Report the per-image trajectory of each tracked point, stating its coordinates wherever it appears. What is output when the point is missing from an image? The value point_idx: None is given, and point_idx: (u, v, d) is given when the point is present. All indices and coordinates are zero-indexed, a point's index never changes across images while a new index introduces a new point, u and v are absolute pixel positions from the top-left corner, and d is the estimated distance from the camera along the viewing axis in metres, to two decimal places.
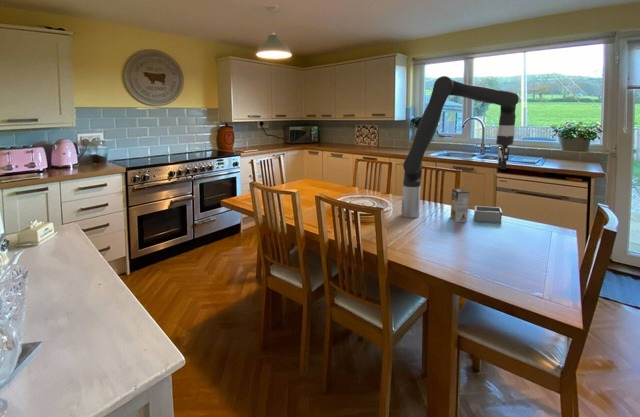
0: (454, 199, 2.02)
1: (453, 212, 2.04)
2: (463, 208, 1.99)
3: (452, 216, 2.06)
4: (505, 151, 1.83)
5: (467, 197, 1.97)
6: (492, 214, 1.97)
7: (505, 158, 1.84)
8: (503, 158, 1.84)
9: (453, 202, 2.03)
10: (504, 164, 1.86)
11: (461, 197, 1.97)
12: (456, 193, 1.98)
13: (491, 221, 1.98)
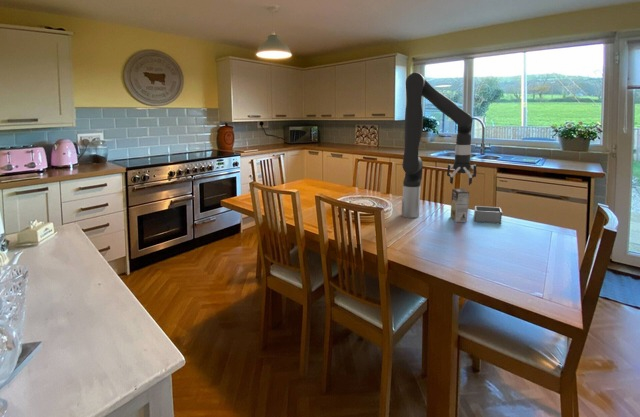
0: (454, 199, 2.02)
1: (453, 212, 2.04)
2: (463, 208, 1.99)
3: (452, 216, 2.06)
4: None
5: (467, 197, 1.97)
6: (492, 214, 1.97)
7: (475, 174, 1.97)
8: None
9: (453, 202, 2.03)
10: (471, 180, 1.98)
11: (461, 197, 1.97)
12: (456, 193, 1.98)
13: (491, 221, 1.98)
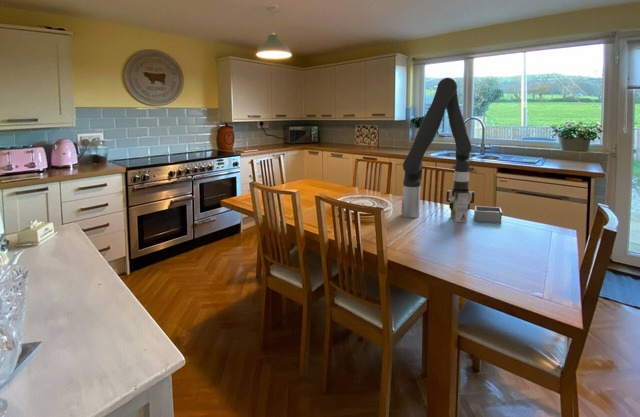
0: (454, 199, 2.02)
1: (453, 212, 2.04)
2: (463, 208, 1.99)
3: (452, 216, 2.06)
4: None
5: (467, 197, 1.97)
6: (492, 214, 1.97)
7: None
8: (473, 201, 1.99)
9: (453, 202, 2.03)
10: (469, 206, 2.02)
11: (461, 197, 1.97)
12: (456, 193, 1.98)
13: (491, 221, 1.98)
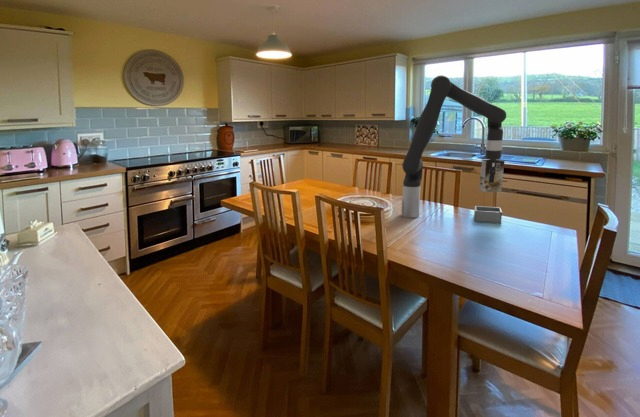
0: None
1: (494, 184, 1.95)
2: None
3: (490, 189, 1.96)
4: None
5: None
6: (492, 214, 1.97)
7: None
8: None
9: None
10: None
11: None
12: (501, 162, 1.92)
13: (491, 221, 1.98)
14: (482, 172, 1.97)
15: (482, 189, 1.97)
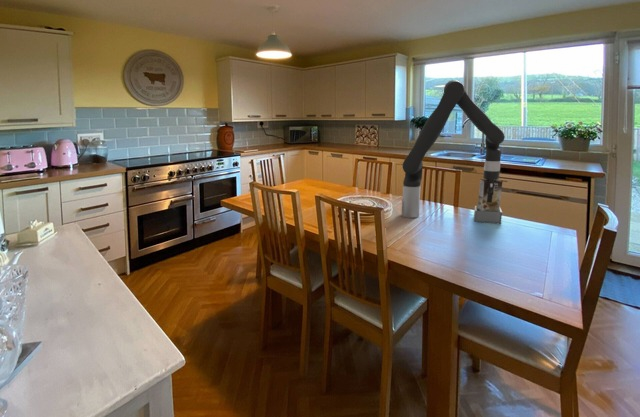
0: None
1: (492, 204, 1.97)
2: None
3: (488, 209, 1.98)
4: None
5: None
6: (492, 214, 1.97)
7: None
8: None
9: None
10: None
11: None
12: (499, 183, 1.94)
13: (491, 221, 1.98)
14: (480, 192, 2.00)
15: (480, 208, 2.00)
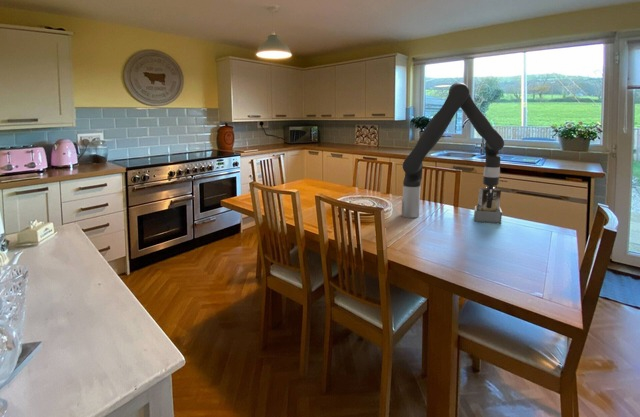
0: None
1: None
2: None
3: None
4: None
5: None
6: (492, 214, 1.97)
7: None
8: None
9: None
10: None
11: None
12: (497, 192, 1.96)
13: (491, 221, 1.98)
14: (479, 200, 2.02)
15: None
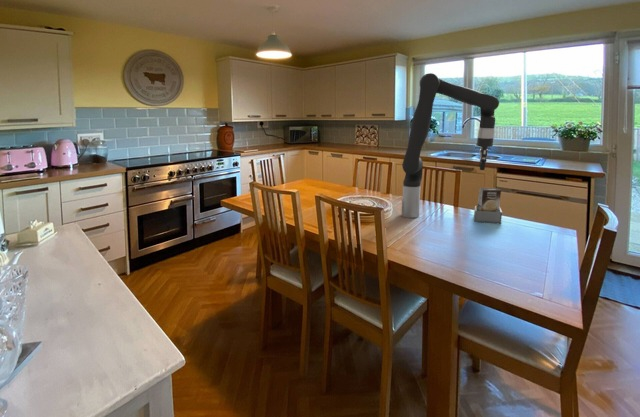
0: (491, 200, 1.97)
1: None
2: None
3: None
4: None
5: None
6: (492, 214, 1.97)
7: None
8: None
9: (489, 203, 1.98)
10: None
11: None
12: (497, 192, 1.96)
13: (491, 221, 1.98)
14: (479, 200, 2.02)
15: None
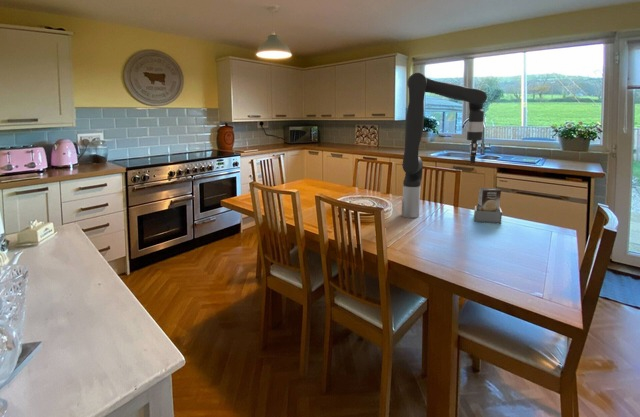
0: (491, 200, 1.97)
1: None
2: None
3: None
4: None
5: None
6: (492, 214, 1.97)
7: None
8: None
9: (489, 202, 1.98)
10: None
11: None
12: (497, 192, 1.96)
13: (491, 221, 1.98)
14: (479, 200, 2.02)
15: None
